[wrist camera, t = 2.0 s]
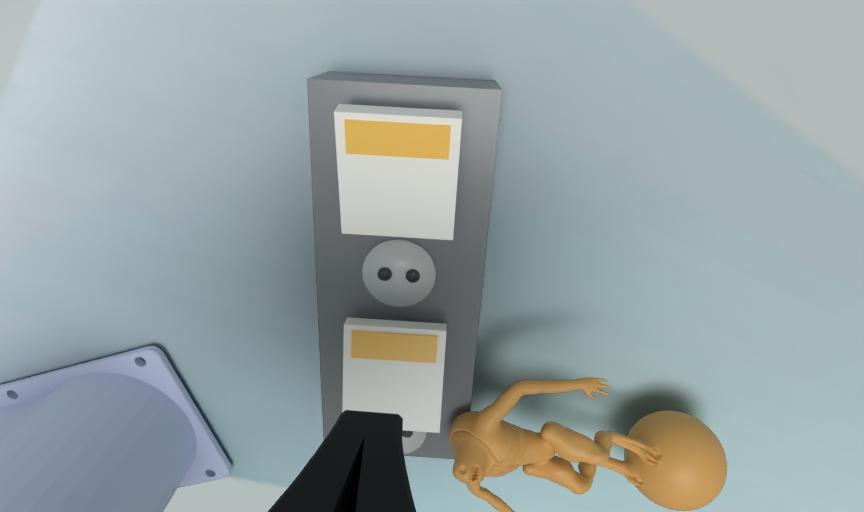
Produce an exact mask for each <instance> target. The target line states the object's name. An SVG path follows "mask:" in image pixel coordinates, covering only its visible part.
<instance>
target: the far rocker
mask: <svg viewBox="0 0 864 512" xmlns="http://www.w3.org/2000/svg"><path fill="white" fill-rule="evenodd" d="M446 326H447V324H443V323H428V322H412V321H397V320H381V319H365V318H350V317H347V319H346V321H345V323H344V337H343V399H342V412H344V411H345V410H353V411H365V412H378V413H390V414H399V415H400V416H401V417H402V418H403V428H402V430H404V431H419V432H434V433H440V420H441V405H442V390H443V375H444V360H445V345H446Z"/></svg>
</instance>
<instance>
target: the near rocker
mask: <svg viewBox="0 0 864 512" xmlns="http://www.w3.org/2000/svg"><path fill="white" fill-rule="evenodd" d="M334 122H335V138H336V153H337V169H338V184H339V200H340V215H341V230H342V234H358V235H375V236H391V237H407V238H424V239H440V240H453V233H454V219H455V206H456V193H457V180H458V166H459V153H460V140H461V127H462V111H456V110H439V109H421V108H403V107H386V106H368V105H351V104H338V106H337V107H336V109H335V110H334Z"/></svg>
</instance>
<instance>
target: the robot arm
mask: <svg viewBox="0 0 864 512" xmlns="http://www.w3.org/2000/svg"><path fill="white" fill-rule="evenodd" d="M140 357H141V358H143V359H144V360H145V361H146V362H145V361H143V360H141V359H140ZM402 428H403V418H402V417H401V416H400V415H399V414H390V413H378V412H365V411H353V410H345V411H344V412H342V413H341V414H340V416H339V418H338V419H337V421H336V423H335V424H334V426H333V428H332V429H331V431H330V432H329V434H328V435H327V437H326V438H325V440H324V441H323V443H322V444H321V445H320V447H319V448H318V450H317V451H316V453H315V454H314V455H313V457H312V458H311V459H310V461H309V462H308V463H307V465H306V466H305V467H304V468H303V470H302V471H301V472H300V474H299V475H298V476H297V478H296V479H295V480H294V481H293V483H292V484H291V485H290V486H289V487H288V489H287V490H286V491H285V492H284V493H283V495H282V496H281V497H280V498H279V499H278V500H277V501H276V503H275V504H274V505H273V506H272V507H271V509H270V510H269V511H268V512H416V509H415V506H414V502H413V498H412V494H411V490H410V485H409V480H408V476H407V471H406V466H405V460H404V452H403V443H402ZM231 469H232V466H231V464H230V462H229V460H228V459H227V457H226V455H225V454H224V452H223V450H222V449H221V447H220V445H219V444H218V442H217V440H216V439H215V437H214V435H213V434H212V432H211V430H210V429H209V427H208V425H207V424H206V422H205V421H204V419H203V417H202V416H201V414H200V412H199V411H198V409H197V407H196V406H195V404H194V402H193V401H192V399H191V397H190V396H189V394H188V392H187V391H186V389H185V387H184V386H183V384H182V382H181V381H180V379H179V377H178V376H177V374H176V372H175V371H174V369H173V367H172V366H171V364H170V362H169V361H168V359H167V357H166V356H165V354H164V353H163V351H162V350H161V349H159V348H158V347H155V346H147V347H143V348H139V349H136V350H132V351H128V352H124V353H120V354H117V355H113V356H109V357H105V358H101V359H97V360H94V361H90V362H86V363H82V364H78V365H74V366H71V367H67V368H63V369H59V370H55V371H52V372H48V373H44V374H40V375H36V376H32V377H29V378H25V379H21V380H17V381H13V382H10V383H6V384H2V385H0V512H163V511H164V509H165V508H166V506H167V504H168V503H169V501H170V499H171V498H172V496H173V494H174V493H175V491H176V489H177V488H179V487H184V486H188V485H193V484H198V483H202V482H207V481H212V480H217V479H221V478H225V477H227V476H228V475H229V474H230V472H231ZM212 470H213V471H212Z"/></svg>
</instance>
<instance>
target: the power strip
mask: <svg viewBox="0 0 864 512" xmlns="http://www.w3.org/2000/svg"><path fill="white" fill-rule="evenodd" d="M307 84H308V106H309V128H310V150H311V172H312V194H313V216H314V238H315V260H316V282H317V304H318V326H319V349H320V371H321V393H322V415H323V437H324V440H325V438H326V437H327V435H328V434H329V432H330V431H331V429H332V428H333V426H334V424H335V423H336V421H337V419H338V418H339V416H340V414H341V413H342V399H343V337H344V323H345V321H346V319H347V317H350V318H365V319H381V320H397V321H412V322H428V323H443V324H447V326H446V345H445V360H444V375H443V390H442V405H441V420H440V433H434V432H419V431H404V430H402V443H403V452H404V456H416V457H431V458H445V459H455V455H454V452H453V449H452V445H451V443H450V439H449V432H450V427H451V425H452V423H453V421H454V420H455V419H456V418H457V417H458V416H459V415H461V414H463V413H465V412H470V407H471V397H472V387H473V377H474V367H475V357H476V347H477V336H478V326H479V316H480V306H481V296H482V286H483V276H484V266H485V256H486V246H487V236H488V226H489V216H490V206H491V196H492V186H493V176H494V166H495V156H496V146H497V136H498V126H499V116H500V106H501V96H502V89H501V88H500V86H499V85H498V84H497V83H496V81H490V80H472V79H454V78H436V77H418V76H400V75H382V74H364V73H346V72H326V73H323V74H320V75H317V76H314V77H311V78H309V79H307ZM338 104H351V105H368V106H386V107H403V108H421V109H439V110H456V111H462V127H461V140H460V153H459V166H458V180H457V193H456V206H455V219H454V233H453V240H440V239H424V238H407V237H391V236H375V235H358V234H342V230H341V215H340V200H339V184H338V169H337V153H336V138H335V122H334V110H335V109H336V107H337V106H338Z"/></svg>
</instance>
